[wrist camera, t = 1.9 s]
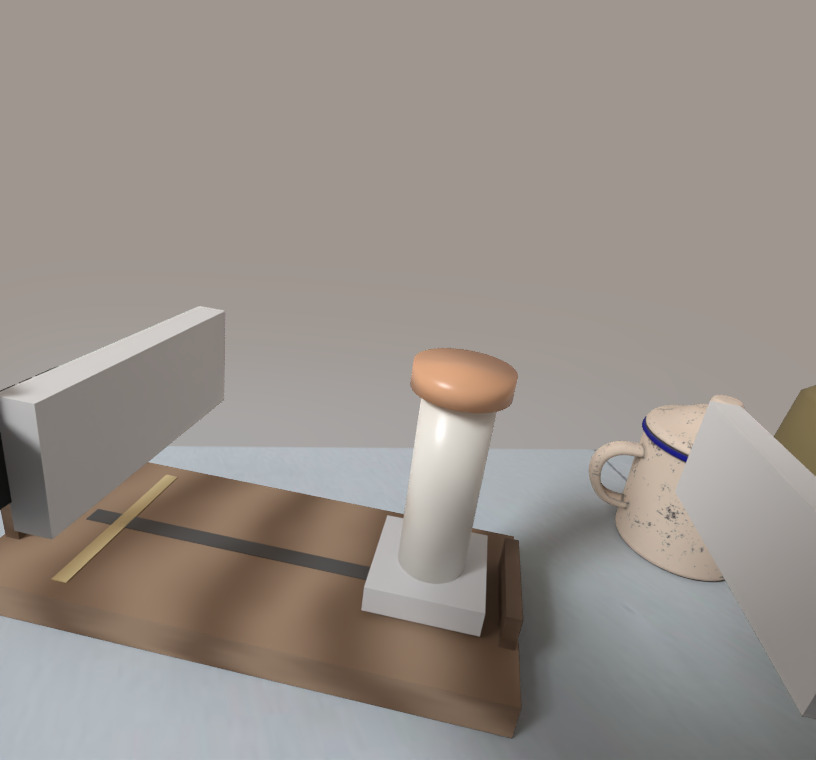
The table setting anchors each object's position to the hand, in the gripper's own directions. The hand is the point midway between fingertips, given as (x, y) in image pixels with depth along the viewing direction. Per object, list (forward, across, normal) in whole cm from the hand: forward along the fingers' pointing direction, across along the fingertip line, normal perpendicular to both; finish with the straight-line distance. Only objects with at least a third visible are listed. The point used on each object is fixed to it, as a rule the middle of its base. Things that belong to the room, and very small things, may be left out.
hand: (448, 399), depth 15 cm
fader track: (+10, -8, -18) cm, 22 cm away
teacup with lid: (+22, +17, -17) cm, 33 cm away
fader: (+10, 0, -16) cm, 18 cm away
